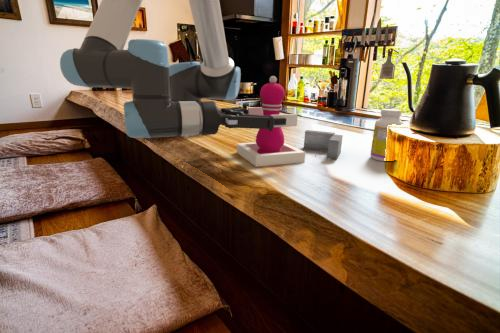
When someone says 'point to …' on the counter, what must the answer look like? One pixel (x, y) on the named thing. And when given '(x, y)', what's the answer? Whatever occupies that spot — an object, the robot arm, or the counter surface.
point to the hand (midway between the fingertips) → (282, 115)
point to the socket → (270, 155)
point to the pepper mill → (271, 106)
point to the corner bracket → (324, 142)
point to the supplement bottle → (383, 132)
